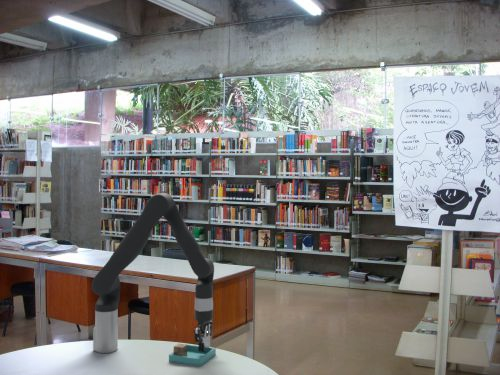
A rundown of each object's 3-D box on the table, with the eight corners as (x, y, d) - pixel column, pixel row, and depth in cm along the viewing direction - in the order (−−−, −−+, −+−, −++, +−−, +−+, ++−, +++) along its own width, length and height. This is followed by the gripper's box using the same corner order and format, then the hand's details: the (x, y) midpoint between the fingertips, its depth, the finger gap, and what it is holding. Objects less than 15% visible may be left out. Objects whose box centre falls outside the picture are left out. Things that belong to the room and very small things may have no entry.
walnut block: (173, 358, 202) (173, 346, 202) (178, 355, 206) (178, 343, 206) (182, 360, 201) (182, 347, 201) (187, 356, 204) (187, 344, 204)
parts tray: (168, 361, 201) (168, 354, 201) (185, 350, 214) (185, 344, 214) (200, 366, 196) (200, 359, 196) (215, 354, 209) (215, 348, 209)
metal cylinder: (197, 351, 205) (197, 336, 205) (201, 348, 209) (201, 334, 209) (206, 352, 204) (206, 338, 204) (210, 349, 208) (210, 335, 207)
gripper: (203, 303, 214) (202, 343, 214) (187, 311, 201) (187, 354, 201) (219, 304, 211) (219, 345, 212) (204, 313, 198) (204, 356, 198)
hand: (203, 349), depth 206 cm, fingers closed on metal cylinder, 4 cm apart
